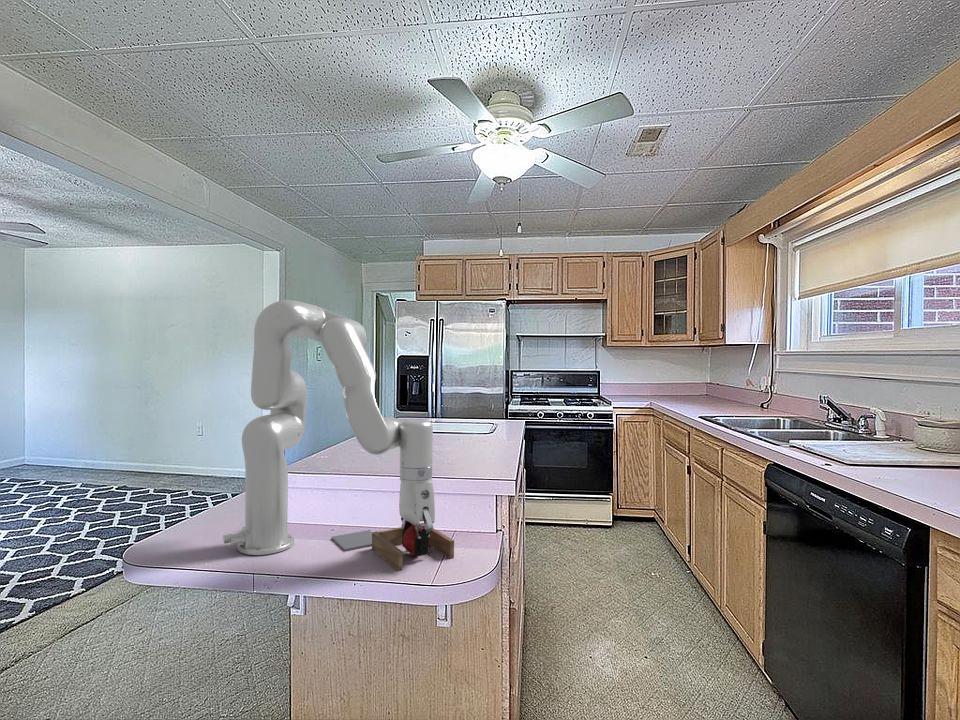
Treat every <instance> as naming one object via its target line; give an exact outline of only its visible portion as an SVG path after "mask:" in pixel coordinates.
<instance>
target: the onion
mask: <svg viewBox="0 0 960 720" xmlns="http://www.w3.org/2000/svg"><path fill="white" fill-rule="evenodd" d="M422 529H424V528H423V527H420V532H421V530H422ZM415 538H417V536H416V529H415V525H413V524H412V526H410V527H409V528H408V529H407V530H406V531H405V533H404V535H403V546H404V547H403V546H402V547H403V548H404V550H406V551H407V552H408V553H409V554H410V555H412V556H414V557H416V556H415Z"/></svg>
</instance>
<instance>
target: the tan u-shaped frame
mask: <svg viewBox="0 0 960 720" xmlns="http://www.w3.org/2000/svg"><path fill="white" fill-rule="evenodd" d="M423 523H424V522H422V523H421V522H420V524H423ZM423 528H424V526H423ZM402 530H404V529H402V526H400V527H395V528H389V529H384V530H383V529H382V530H378V531H371V532H372V546H371V550H372V551H374V553H376V554H377V553H378V554H379V555H378V554H377V555H378V556H379V557H381V558H382V557H383V558H384V559H385V560H384V559H383V558H382V559H383V560H384V561H385V562H387V563H388V562H389V563H390V564H391V567H393V568H394V569H395V570H396V571H397V572H400V571H403V559H404V558H403V554H404V553H403V550H401V549H400V548H399V547H398V546H401V545H402ZM428 544H429V545H428V546H430V547H432V548H433V547H434V548H433V549H435V550H436V551H437V552H439V551H440V552H439V553H441V554H442V555H443V556H446V558H448V557H449V558H448V559H454V558H455V540H454V539H452V538H451V537H448V535H446V534H444V533H442V532H440V531H438V530H437V529H436V528H434V527H433V529H432V530H431V532H430V537H429V543H428ZM397 545H398V546H397ZM389 563H388V564H389ZM390 564H389V565H390Z"/></svg>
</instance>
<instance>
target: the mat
mask: <svg viewBox="0 0 960 720" xmlns="http://www.w3.org/2000/svg"><path fill="white" fill-rule="evenodd" d="M372 532H373V531H371V530H370V529H368V530H362V531H357V532H352V533H351V532H350V533H345V534H339V535H338V534H337V535H334V536H331V540H332V541H334V543H335V544H336V545H337V546H338V547H339V548H341V549H342V550H343V551H344V552H348V551H349V552H350V551H352V550H353V551H354V550H358V549H362V548H368V547H372Z"/></svg>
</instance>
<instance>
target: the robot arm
mask: <svg viewBox="0 0 960 720" xmlns="http://www.w3.org/2000/svg"><path fill="white" fill-rule="evenodd" d="M253 329H254V330H253V358H252V368H251V371H252V372H251V383H250V399H251V401H252V403H253V404H254V406H255V407H256V408H258V409H260V410H264V411H270V414H265V415H261V416H260V415H259V416H258V417H256V418H254V419H252V420H251V421H249V422H248V423H247V424H246V425H245V427H244V428H243V431H242V434H241V448H242V451H243V456H244V468H245V470H244V471H245V472H244V474H245V476H244V477H245V479H244V480H245V481H244V482H245V484H244V485H245V493H244V496H245V498H244V500H245V504H244V506H245V507H244V509H245V510H244V513H245V514H244V516H245V517H244V518H245V519H244V527H241V531H237V533H234V534H233V533H230V534H224V535H222V542H223V543H222V544H230V546H234V545H237V551H238V550H239V551H240V553H241V554H244V555H250V556H264V555H271V554H276V553H280V552H282V551H286V550H288V549H289V548H291V547H292V546H294V544H295V538H294V536H293V535H292V534H289V533H288V521H289V520H288V519H289V518H288V517H289V516H288V515H289V514H288V510H289V509H288V505H289V504H288V501H289V497H288V496H289V492H288V491H289V477H288V476H289V472H288V463H287V459H286V457H285V451H286V450H289V449H292V448H293V447H295V446H297V445H298V444H299V443H300V442H301V441H302V439H303V436H304V434H305V428H306V419H307V418H306V417H307V402H308V401H307V400H308V389H307V384H306V382H305V379H304V378H303V376H302V375H301V374H299V373H298V372H297V371H294V370H292V369H291V362H292V351H291V346H290V341H289V339H290V338H291V337H298V338H307V339H311V340H313V341H316V342H319V343H321V345H322V348H323V349H324V351H325V353H326V355H327V358H328V360H329V361H330V364H331V366H332V369H333V370H334V372H335V374H336V378H337V379H338V381H339V383H340V386H341V388H342V398H343V399H342V400H343V405H344V409H345V415H346V418H347V420H348V423H349V426H350V427H351V430H352V431H353V434H354V436H355V437H356V439H357V442H358V444H359V445H360V446H361V448H362V449H363V450H364V451H365V452H366V453H368V454H370V455H373V456H374V455H375V456H376V455H377V456H378V455H379V456H380V455H382V454H385V453H386V452H388V451H391V450H393V449H396V448H399V481H400V486H399V488H400V489H399V500H398V501H399V504H398V505H399V506H398V508H399V509H398V511H399V512H398V513H399V516H400V517H401V518H400V520H401V522H402V523H401V527H402V529H404V530H402V547H403V548H404V546H403V535H404V533H405V531H406V530H407V529H408V528H409V527H410V526H412V524H413V525H415V529H416V536H417V538H415V556H414V557H421V556H425V555H426V556H427V555H428V554H429V545H428V543H429V537H430V532H431V530H432V529H433V528H434V525H433V524H434V523H435V521H436V507H435V506H436V505H435V490H434V485H433V447H434V446H433V443H434V441H433V439H434V438H433V433H434V430H433V424H432V422H431V421H430V420H428V419H417V418H416V419H402V418H397V417H391V416H389V417H388V416H386V417H383V416H382V413H381V411H380V409H379V407H378V404H377V401H376V397H375V383H376V379H377V373H376V369H375V368H374V366H373V363H372V362H371V360H370V357H369V355H368V353H367V351H366V349H365V346H366V344H367V339H368V338H367V333H366V329H365V328H364V326H363V325H362V324H361V323H360V322H358V321H356V320H354V319H351V318H349V317H345V316H343V315H340V314H339V313H335V312H333V311H331V310H329V309H325V308H323V307H320V306H319V305H314V304H311V303H307V302H306V303H305V302H302V301H299V300H294V299H293V300H292V299H291V300H290V299H286V300H285V299H284V300H278V301H275V302H273V303H271V304H269V305H267V306H266V307H265V308H264V309H262V311H260V313H259V315H258V316H257V318H256V321H255V325H254V327H253ZM421 522H422V523H423V524H421ZM423 526H424V529H422V530H421V532H420V527H423ZM239 551H238V552H239Z"/></svg>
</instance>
